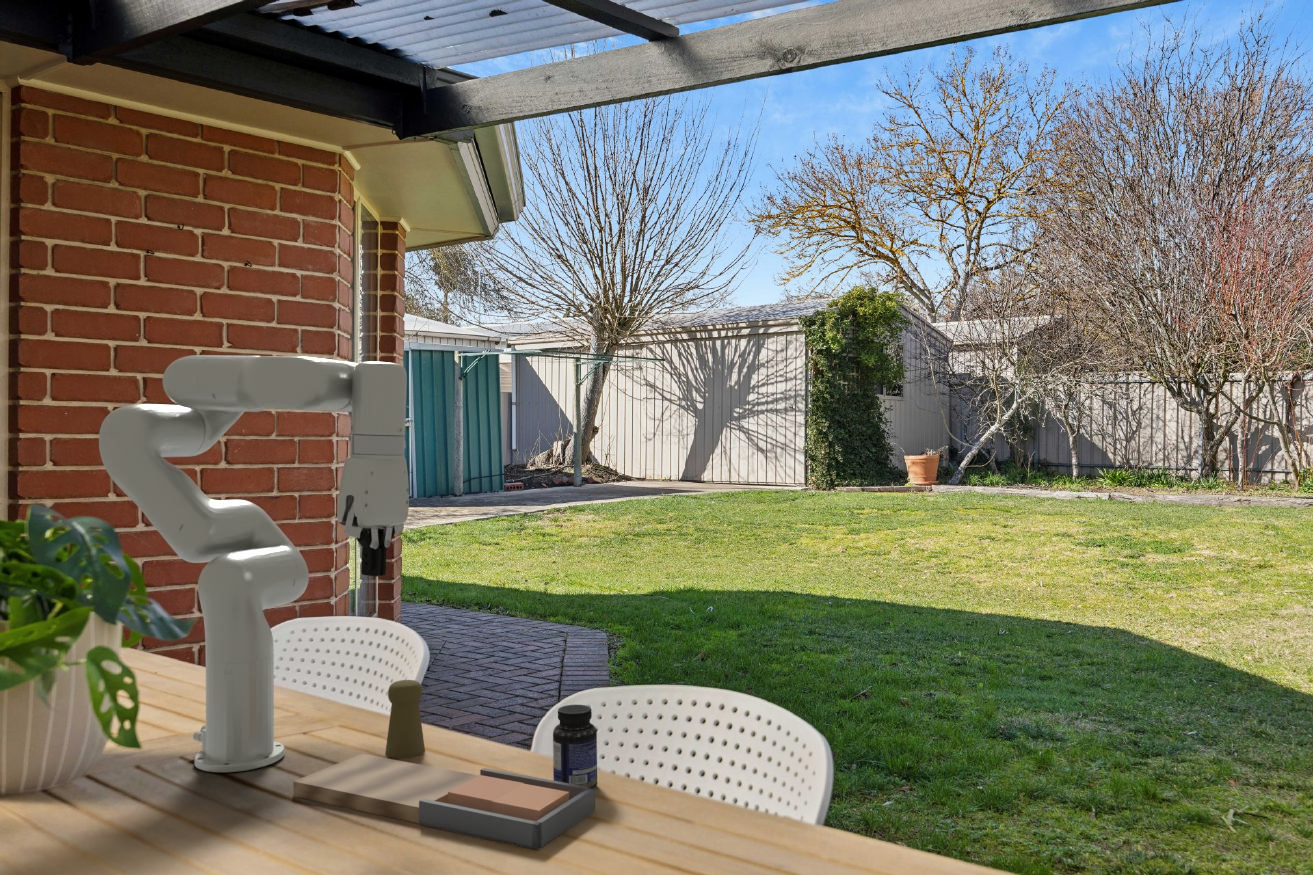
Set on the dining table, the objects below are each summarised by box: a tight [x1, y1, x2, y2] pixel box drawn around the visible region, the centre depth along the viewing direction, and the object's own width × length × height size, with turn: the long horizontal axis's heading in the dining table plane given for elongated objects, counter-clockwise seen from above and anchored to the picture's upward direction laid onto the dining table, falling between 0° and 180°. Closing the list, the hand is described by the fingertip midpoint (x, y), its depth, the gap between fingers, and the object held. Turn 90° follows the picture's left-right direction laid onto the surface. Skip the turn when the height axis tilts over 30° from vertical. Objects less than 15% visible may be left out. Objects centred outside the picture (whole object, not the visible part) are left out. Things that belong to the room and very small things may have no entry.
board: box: [292, 753, 480, 824], centre depth 134 cm, size 22×13×2 cm, turn 64°
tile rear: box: [448, 774, 524, 812], centre depth 127 cm, size 7×7×3 cm
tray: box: [418, 767, 596, 851], centre depth 125 cm, size 18×14×3 cm
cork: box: [385, 679, 426, 759], centre depth 152 cm, size 6×6×11 cm
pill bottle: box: [552, 704, 598, 789], centre depth 136 cm, size 6×6×11 cm
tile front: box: [492, 784, 569, 821], centre depth 123 cm, size 7×7×3 cm
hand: (373, 574), depth 140 cm, fingers closed
